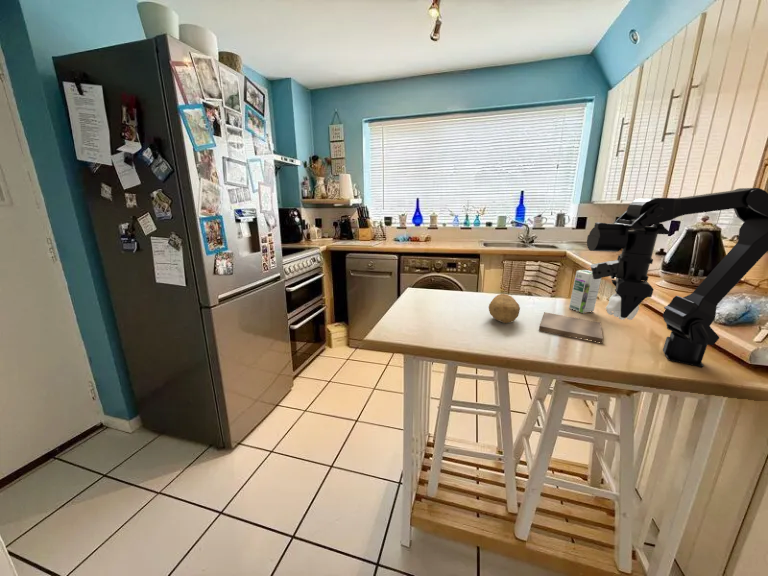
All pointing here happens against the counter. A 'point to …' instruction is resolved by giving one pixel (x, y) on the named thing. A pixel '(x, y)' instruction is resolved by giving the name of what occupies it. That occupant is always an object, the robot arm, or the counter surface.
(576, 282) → the syrup box
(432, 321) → the counter surface
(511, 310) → the potato
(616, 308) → the elephant figurine
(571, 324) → the walnut board
